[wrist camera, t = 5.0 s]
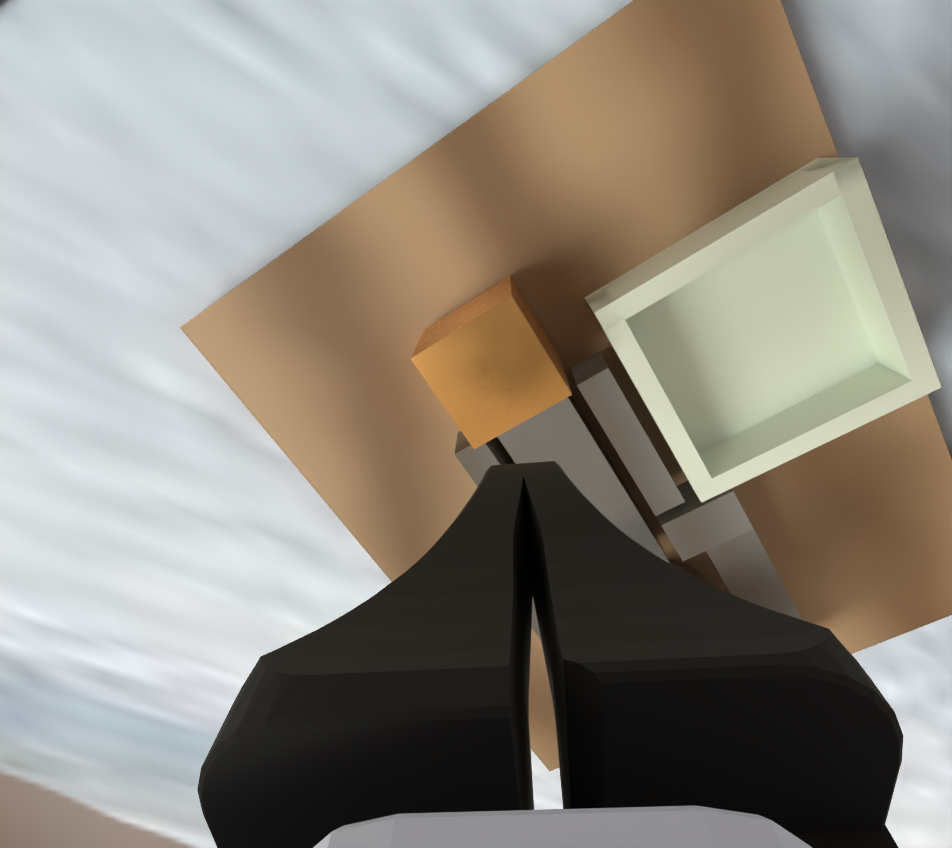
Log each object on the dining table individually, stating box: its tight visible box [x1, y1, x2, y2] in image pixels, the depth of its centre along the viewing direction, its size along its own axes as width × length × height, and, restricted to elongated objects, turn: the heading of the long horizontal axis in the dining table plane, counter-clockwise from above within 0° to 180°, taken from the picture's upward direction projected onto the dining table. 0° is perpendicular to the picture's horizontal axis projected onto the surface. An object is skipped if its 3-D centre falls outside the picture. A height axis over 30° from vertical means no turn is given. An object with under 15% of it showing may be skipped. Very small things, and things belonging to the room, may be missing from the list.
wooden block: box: [411, 275, 669, 563], centre depth 18 cm, size 3×10×3 cm, turn 33°
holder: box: [180, 0, 952, 771], centre depth 20 cm, size 18×23×3 cm
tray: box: [585, 157, 941, 503], centre depth 17 cm, size 7×7×2 cm
